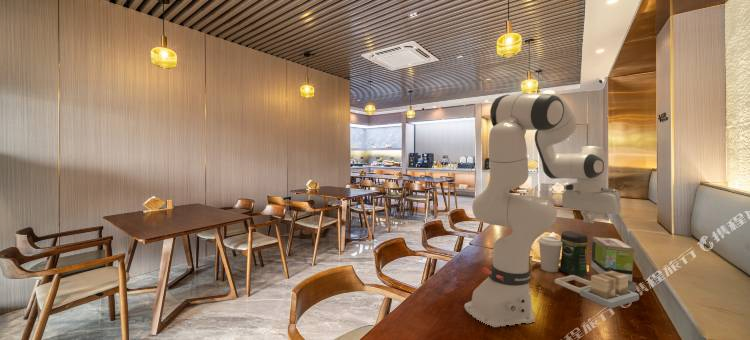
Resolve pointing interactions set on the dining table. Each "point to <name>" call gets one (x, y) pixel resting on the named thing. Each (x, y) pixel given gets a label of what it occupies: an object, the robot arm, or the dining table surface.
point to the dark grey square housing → (631, 286)
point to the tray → (563, 283)
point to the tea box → (612, 256)
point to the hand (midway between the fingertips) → (588, 222)
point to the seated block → (603, 286)
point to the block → (619, 282)
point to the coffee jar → (574, 253)
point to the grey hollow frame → (613, 301)
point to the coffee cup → (550, 253)
